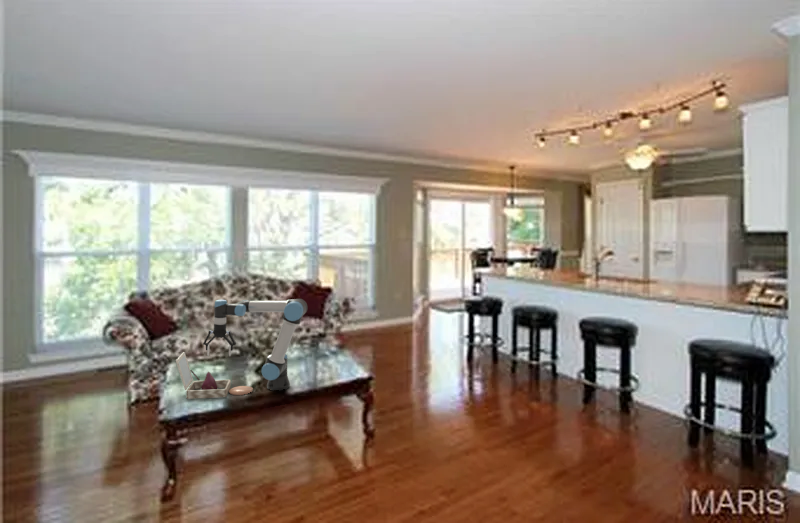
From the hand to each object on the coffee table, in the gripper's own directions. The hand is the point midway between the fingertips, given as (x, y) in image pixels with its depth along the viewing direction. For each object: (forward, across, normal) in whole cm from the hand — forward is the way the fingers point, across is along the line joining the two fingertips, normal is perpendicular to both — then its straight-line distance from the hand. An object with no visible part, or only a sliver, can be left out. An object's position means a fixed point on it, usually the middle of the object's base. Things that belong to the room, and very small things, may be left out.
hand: (219, 355), depth 326 cm
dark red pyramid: (+25, +5, +1) cm, 26 cm away
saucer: (+24, -15, 0) cm, 28 cm away
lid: (+10, +21, +1) cm, 23 cm away
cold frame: (+25, +5, +1) cm, 25 cm away
